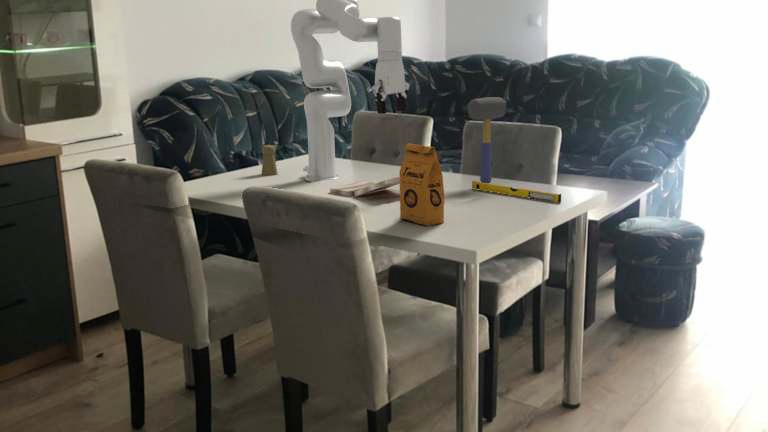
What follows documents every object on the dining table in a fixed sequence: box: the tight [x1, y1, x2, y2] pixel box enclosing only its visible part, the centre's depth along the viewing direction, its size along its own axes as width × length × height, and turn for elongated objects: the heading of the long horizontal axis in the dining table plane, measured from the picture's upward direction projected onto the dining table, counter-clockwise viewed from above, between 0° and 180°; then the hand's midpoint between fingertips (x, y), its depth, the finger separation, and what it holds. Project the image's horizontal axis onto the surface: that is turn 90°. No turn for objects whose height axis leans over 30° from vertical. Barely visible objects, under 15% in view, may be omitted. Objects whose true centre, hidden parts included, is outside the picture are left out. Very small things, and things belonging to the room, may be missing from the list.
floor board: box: [329, 180, 400, 204], centre depth 268 cm, size 26×17×3 cm, turn 49°
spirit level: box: [471, 180, 562, 204], centre depth 267 cm, size 33×1×3 cm, turn 47°
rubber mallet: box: [467, 96, 507, 184], centre depth 282 cm, size 12×8×30 cm, turn 122°
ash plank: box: [354, 176, 400, 196], centre depth 264 cm, size 14×15×2 cm
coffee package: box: [399, 142, 445, 227], centre depth 232 cm, size 10×12×22 cm
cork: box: [261, 144, 278, 177], centre depth 308 cm, size 6×6×11 cm
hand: (391, 112), depth 261 cm, fingers open, 9 cm apart
